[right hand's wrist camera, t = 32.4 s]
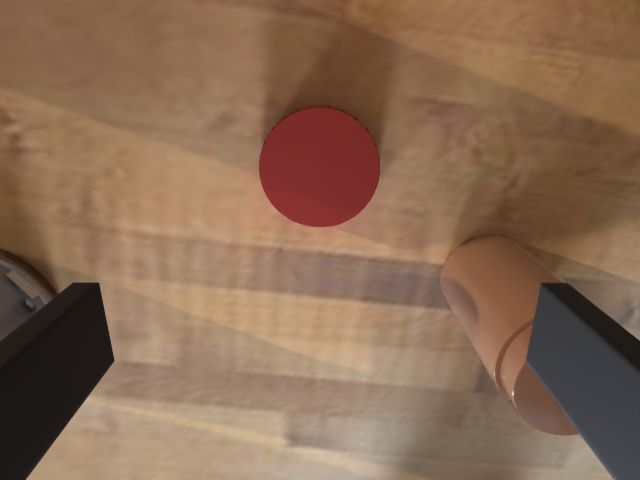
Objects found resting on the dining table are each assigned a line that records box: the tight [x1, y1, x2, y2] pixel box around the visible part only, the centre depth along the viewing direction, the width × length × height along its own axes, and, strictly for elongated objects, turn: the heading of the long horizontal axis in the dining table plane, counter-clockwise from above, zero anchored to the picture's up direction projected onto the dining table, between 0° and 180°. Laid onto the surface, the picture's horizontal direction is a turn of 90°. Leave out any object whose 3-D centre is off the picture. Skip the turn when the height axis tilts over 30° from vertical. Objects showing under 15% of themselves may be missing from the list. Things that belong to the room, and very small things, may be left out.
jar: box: [440, 235, 611, 435], centre depth 34 cm, size 9×9×16 cm
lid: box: [259, 105, 380, 228], centre depth 36 cm, size 10×10×2 cm
